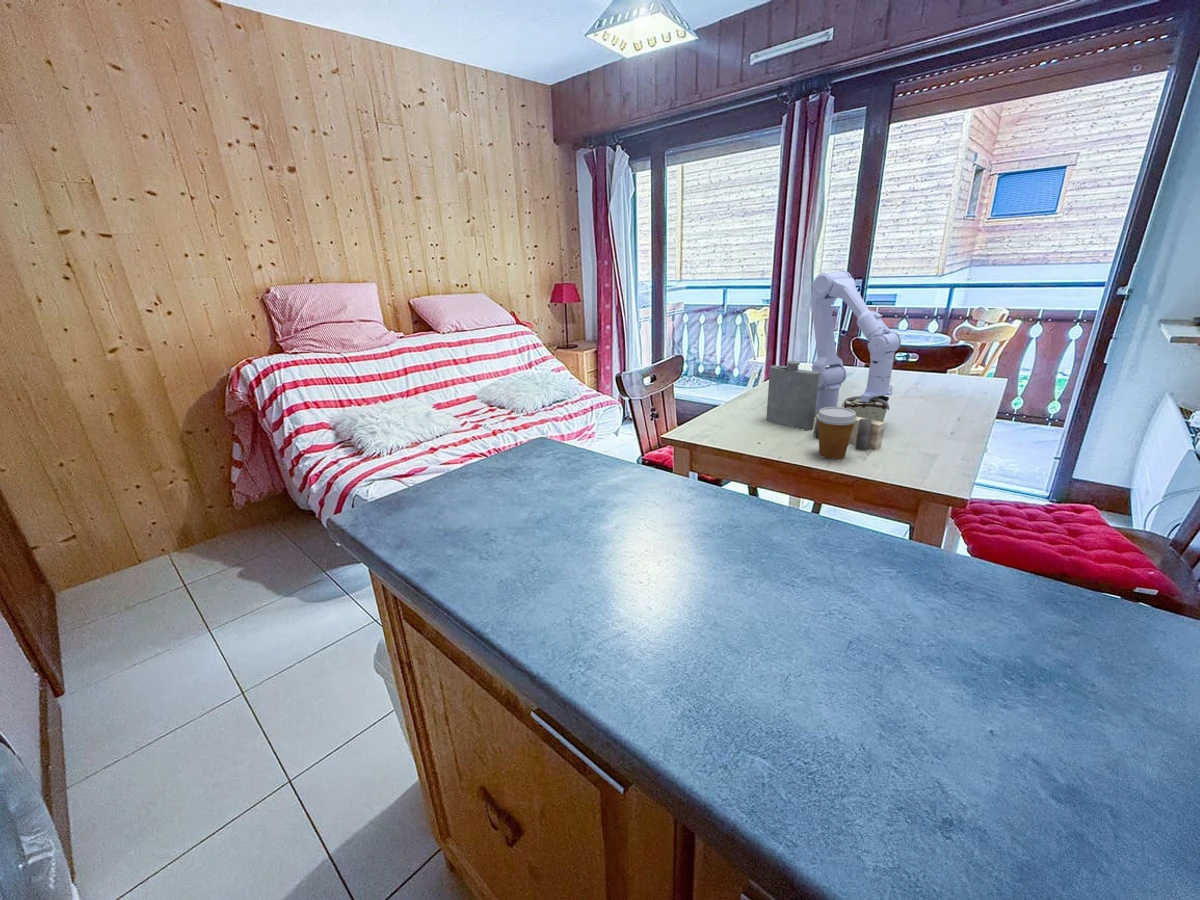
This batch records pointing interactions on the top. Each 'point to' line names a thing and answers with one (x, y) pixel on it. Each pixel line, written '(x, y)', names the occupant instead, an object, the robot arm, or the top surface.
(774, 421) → the hip flask
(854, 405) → the food container
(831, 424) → the disposable coffee cup
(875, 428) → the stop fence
